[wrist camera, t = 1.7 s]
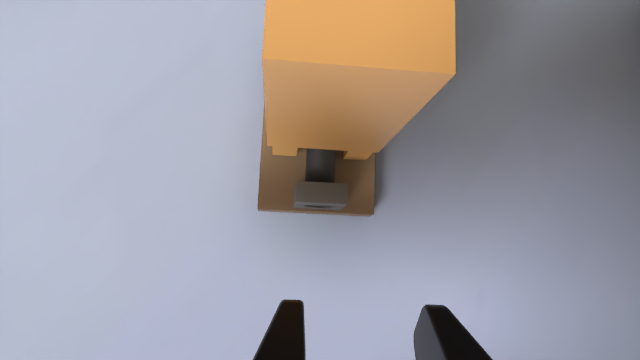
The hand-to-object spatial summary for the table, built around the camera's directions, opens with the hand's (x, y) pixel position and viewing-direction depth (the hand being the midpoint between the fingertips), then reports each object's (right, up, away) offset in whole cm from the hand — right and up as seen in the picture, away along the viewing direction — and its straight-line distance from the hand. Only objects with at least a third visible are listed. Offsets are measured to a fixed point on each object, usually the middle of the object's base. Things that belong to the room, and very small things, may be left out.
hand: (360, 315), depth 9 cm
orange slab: (-1, +5, +11) cm, 12 cm away
